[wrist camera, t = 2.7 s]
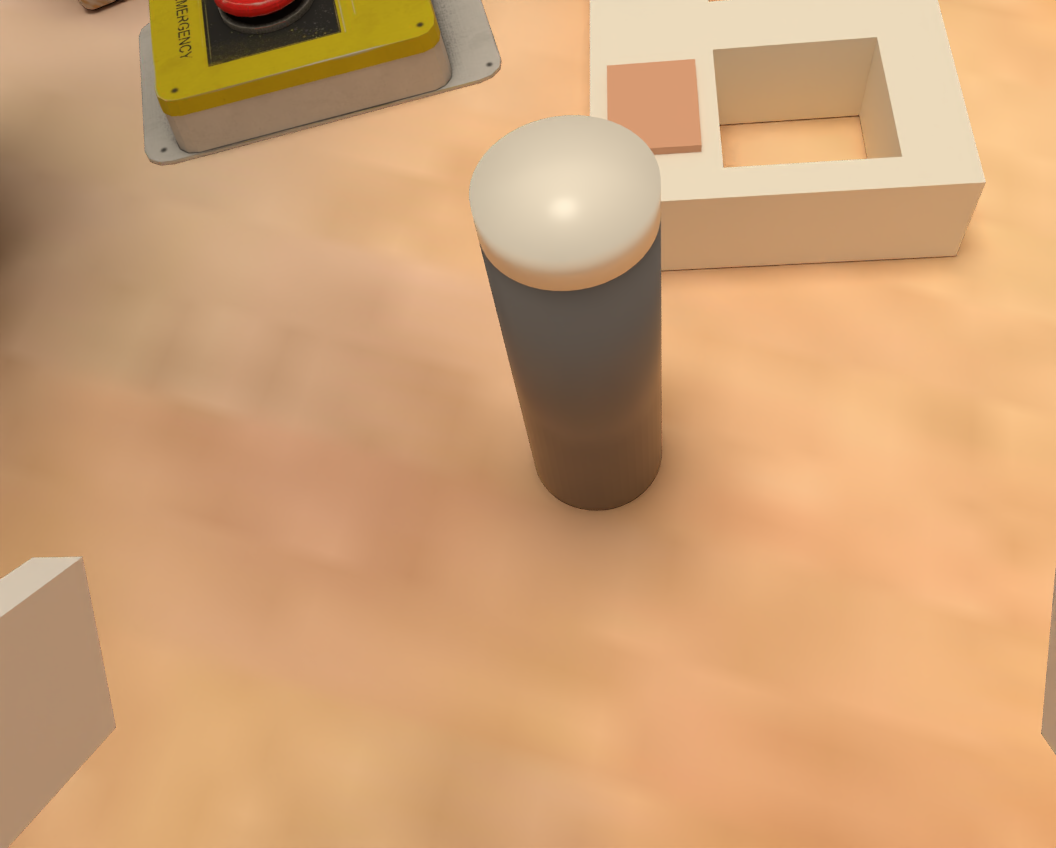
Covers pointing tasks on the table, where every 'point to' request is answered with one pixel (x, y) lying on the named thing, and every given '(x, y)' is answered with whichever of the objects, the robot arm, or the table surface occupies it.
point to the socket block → (790, 94)
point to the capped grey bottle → (578, 299)
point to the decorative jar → (94, 3)
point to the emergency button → (297, 65)
